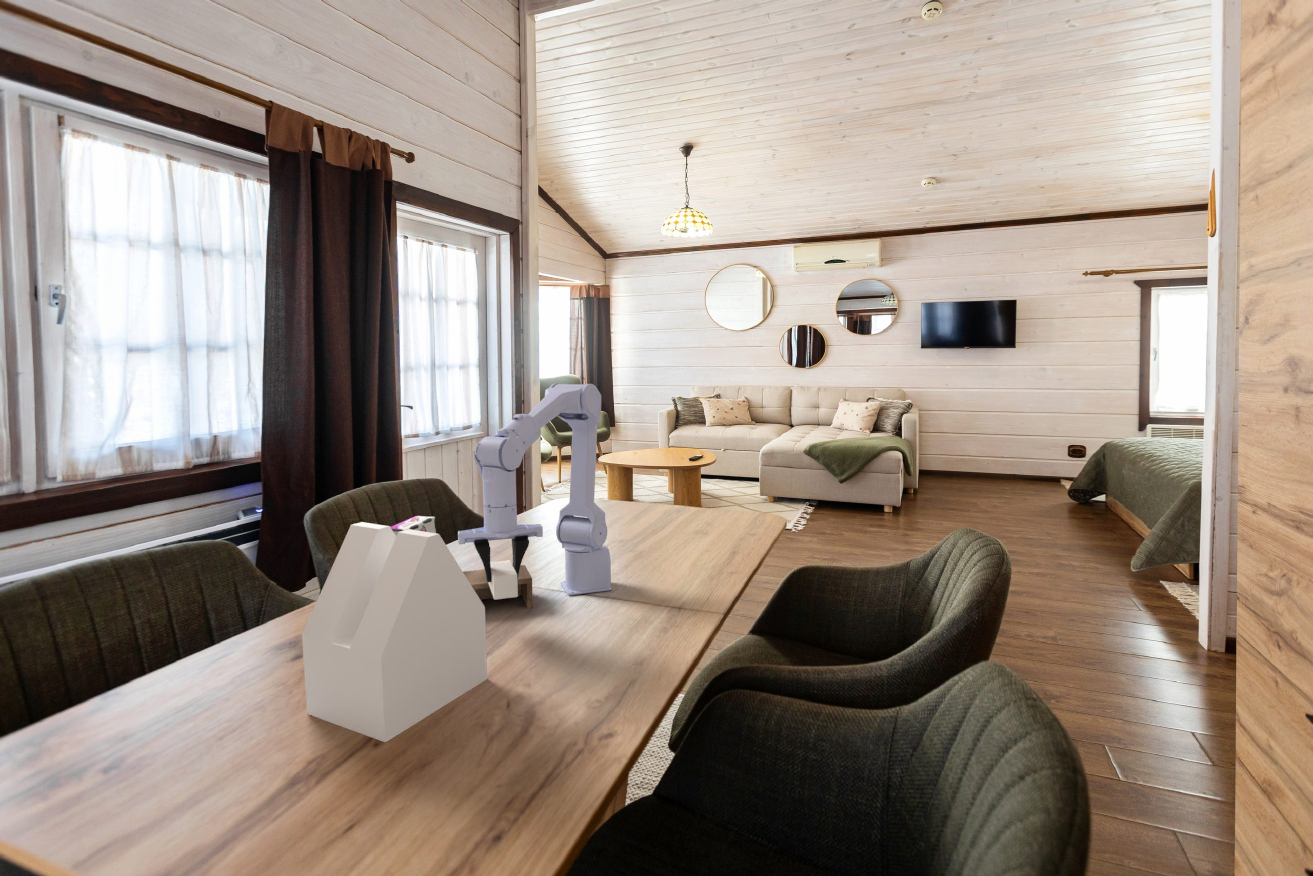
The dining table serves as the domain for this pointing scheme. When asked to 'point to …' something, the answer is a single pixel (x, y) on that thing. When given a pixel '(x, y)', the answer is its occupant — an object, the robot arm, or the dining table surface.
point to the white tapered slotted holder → (392, 633)
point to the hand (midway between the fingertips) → (502, 579)
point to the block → (503, 580)
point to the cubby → (484, 591)
